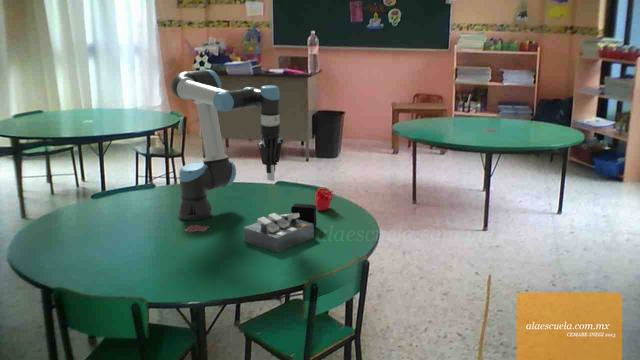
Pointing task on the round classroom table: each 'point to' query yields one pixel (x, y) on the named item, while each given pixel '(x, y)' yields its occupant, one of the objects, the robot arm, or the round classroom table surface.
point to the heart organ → (323, 199)
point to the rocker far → (292, 215)
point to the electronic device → (305, 212)
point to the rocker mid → (279, 220)
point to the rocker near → (268, 224)
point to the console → (279, 234)
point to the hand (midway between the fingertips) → (270, 179)
